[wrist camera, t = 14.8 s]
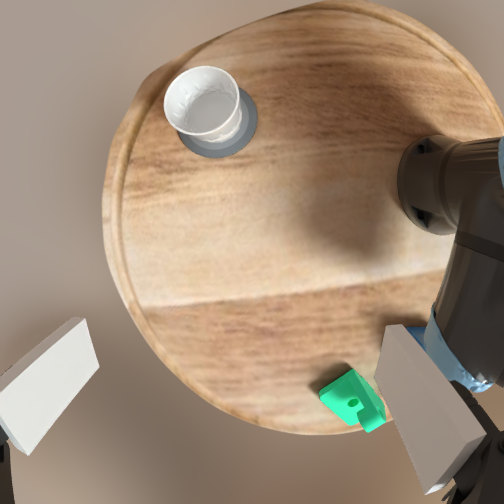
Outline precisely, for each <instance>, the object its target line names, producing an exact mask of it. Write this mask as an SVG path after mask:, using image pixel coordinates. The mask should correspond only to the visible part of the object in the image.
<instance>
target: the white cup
mask: <svg viewBox="0 0 504 504" xmlns="http://www.w3.org/2000/svg"><path fill="white" fill-rule="evenodd" d="M164 112H165V115H166V118H167V120H168V121H169V123H170V124H171V125H172V126H173V127H174V128H175V129H177V130H178V131H180V132H182V133H185V134H187V135H190V136H192V137H194V138H197V139H200V140H203V141H207V142H210V143H222V142H224V141H226V140H228V139H230V138H232V137H233V136H234V135H235V134H236V133H237V131H238V130H239V129H240V125H241V122H242V107H241V101H240V95H239V90H238V86H237V84H236V82H235V80H234V79H233V77H232V76H231V75H230V74H229V73H227V72H226V71H224V70H222V69H220V68H217V67H214V66H198V67H194V68H191V69H188V70H186V71H184V72H183V73H181V74H180V75H179V76H177V77H176V78H175V79H174V80H173V81H172V83H171V84H170V85H169V87H168V89H167V91H166V94H165V97H164Z"/></svg>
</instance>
